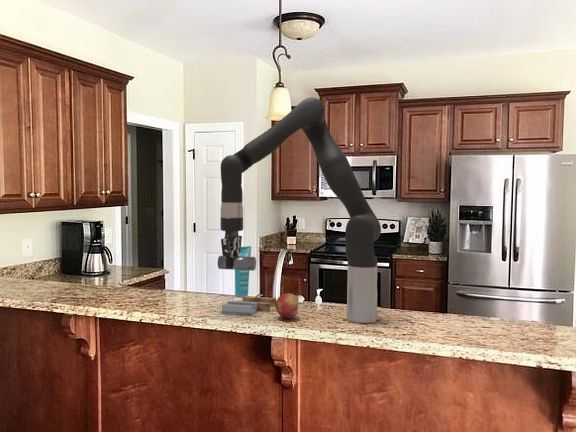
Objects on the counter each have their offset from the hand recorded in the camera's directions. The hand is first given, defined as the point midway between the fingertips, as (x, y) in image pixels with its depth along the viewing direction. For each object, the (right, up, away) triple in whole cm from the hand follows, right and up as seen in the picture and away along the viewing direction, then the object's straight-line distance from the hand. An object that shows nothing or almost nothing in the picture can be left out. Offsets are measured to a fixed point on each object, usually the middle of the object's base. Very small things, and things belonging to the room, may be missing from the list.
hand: (231, 267), depth 156 cm
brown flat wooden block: (+8, -15, +8) cm, 18 cm away
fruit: (+19, -16, -7) cm, 25 cm away
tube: (+1, -14, +27) cm, 30 cm away
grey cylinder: (+2, +1, 0) cm, 2 cm away
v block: (+3, -15, 0) cm, 15 cm away
